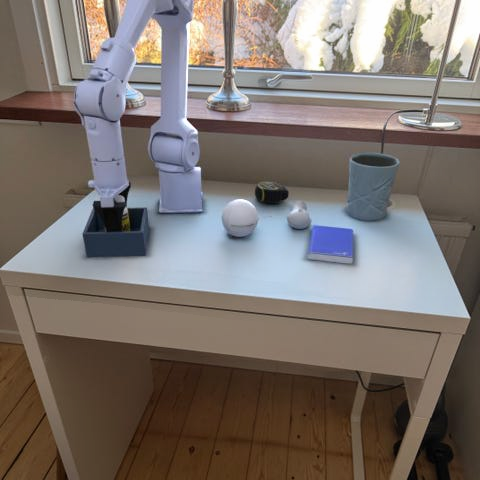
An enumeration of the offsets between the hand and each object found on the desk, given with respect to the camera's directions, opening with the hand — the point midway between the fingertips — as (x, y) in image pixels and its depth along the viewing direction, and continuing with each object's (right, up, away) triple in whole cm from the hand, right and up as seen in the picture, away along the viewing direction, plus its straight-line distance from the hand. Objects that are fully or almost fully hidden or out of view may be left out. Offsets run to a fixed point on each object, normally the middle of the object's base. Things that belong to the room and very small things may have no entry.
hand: (118, 228), depth 89 cm
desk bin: (0, -2, +2) cm, 3 cm away
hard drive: (+41, -3, +2) cm, 41 cm away
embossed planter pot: (+52, +6, +16) cm, 54 cm away
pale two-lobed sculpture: (+36, +3, +10) cm, 38 cm away
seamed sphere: (+25, -1, +5) cm, 25 cm away
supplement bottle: (0, -2, +1) cm, 3 cm away
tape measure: (+31, +11, +21) cm, 39 cm away
